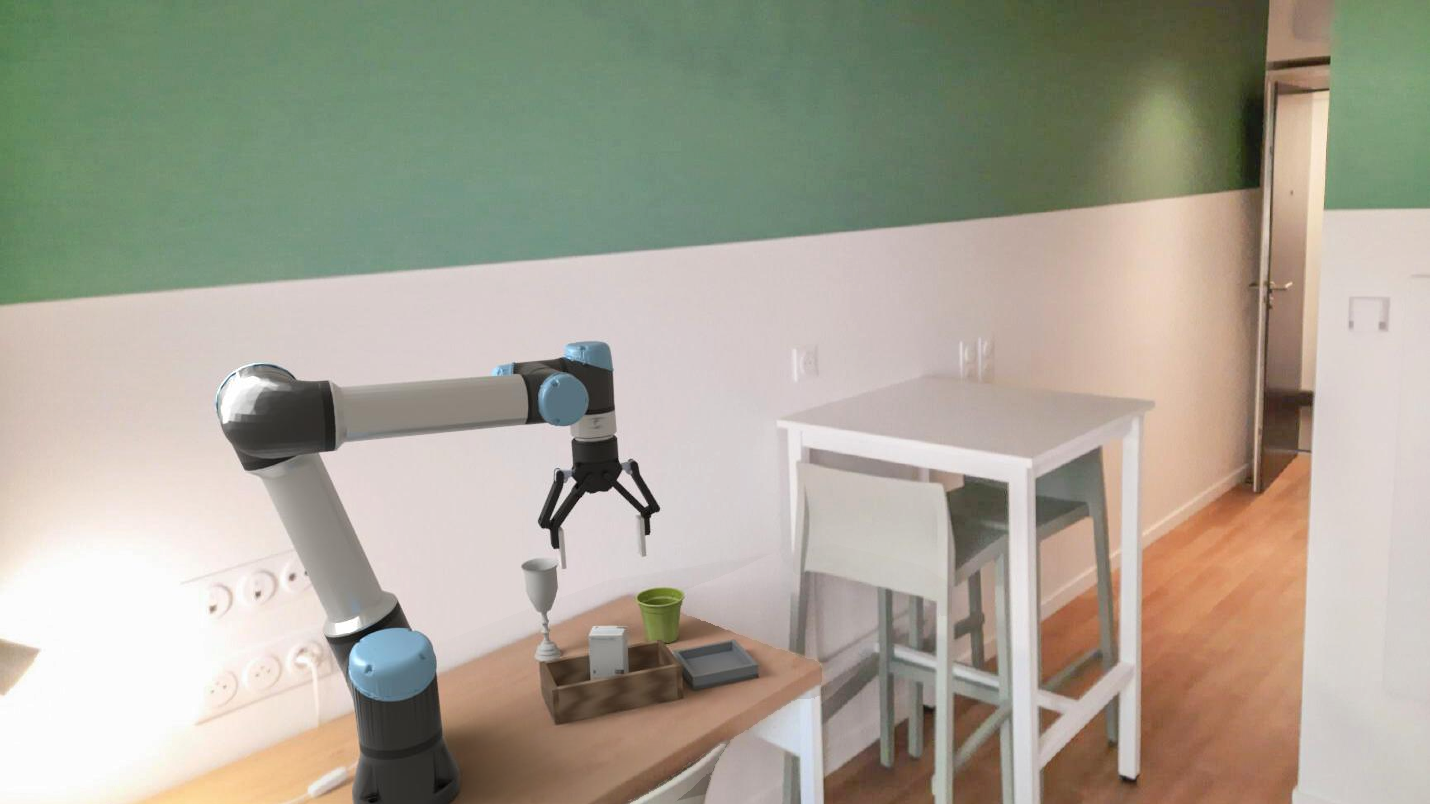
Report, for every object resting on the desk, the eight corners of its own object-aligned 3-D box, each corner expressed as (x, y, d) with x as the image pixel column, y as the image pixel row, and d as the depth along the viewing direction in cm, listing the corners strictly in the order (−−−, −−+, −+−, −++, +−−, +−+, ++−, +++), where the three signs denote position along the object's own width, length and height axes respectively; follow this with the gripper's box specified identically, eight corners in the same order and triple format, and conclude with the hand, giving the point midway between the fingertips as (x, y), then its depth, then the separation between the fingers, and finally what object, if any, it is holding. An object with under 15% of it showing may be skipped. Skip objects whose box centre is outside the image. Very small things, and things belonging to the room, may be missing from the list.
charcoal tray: (693, 690, 186) (693, 677, 186) (673, 663, 197) (672, 650, 197) (758, 677, 190) (758, 664, 190) (735, 651, 201) (734, 639, 201)
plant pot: (696, 633, 210) (693, 591, 209) (668, 651, 203) (666, 608, 201) (656, 625, 215) (654, 584, 214) (628, 643, 208) (625, 600, 206)
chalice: (558, 664, 200) (550, 571, 196) (523, 662, 201) (515, 570, 198) (571, 647, 207) (564, 557, 203) (537, 646, 208) (529, 557, 205)
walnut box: (554, 724, 177) (552, 690, 176) (541, 694, 188) (539, 661, 187) (683, 698, 184) (681, 665, 182) (663, 670, 195) (661, 639, 194)
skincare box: (591, 702, 184) (586, 635, 182) (596, 690, 188) (591, 625, 186) (627, 702, 183) (622, 635, 181) (631, 690, 188) (627, 624, 185)
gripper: (521, 450, 170) (532, 578, 174) (673, 431, 178) (680, 555, 181) (514, 440, 177) (524, 564, 181) (660, 423, 184) (667, 542, 188)
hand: (602, 560), depth 181 cm, fingers open, 13 cm apart
